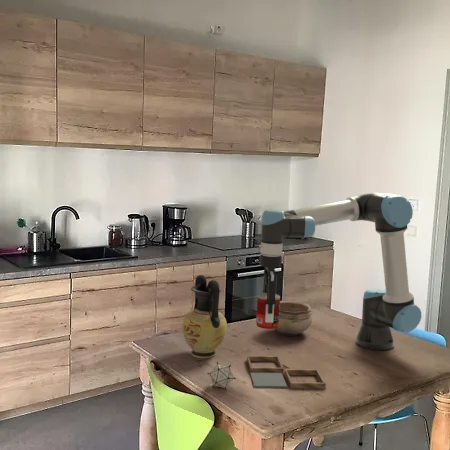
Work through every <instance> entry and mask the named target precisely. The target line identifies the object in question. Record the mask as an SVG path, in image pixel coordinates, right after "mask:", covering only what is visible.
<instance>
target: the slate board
mask: <svg viewBox="0 0 450 450" xmlns="http://www.w3.org/2000/svg"><path fill="white" fill-rule="evenodd" d="M250 378H251V381H252V384H253V388H255V389H256V388H257V389H258V388H263V389H264V388H266V389H267V388H270V389H271V388H272V389H274V388H276V389H277V388H278V389H279V388H280V389H282V388H283V389H284V388H285V389H286V388H288V385H287V383H286V380H285V378H284V374H283V373H250Z"/></svg>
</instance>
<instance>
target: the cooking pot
mask: <svg viewBox="0 0 450 450" xmlns="http://www.w3.org/2000/svg"><path fill="white" fill-rule="evenodd" d="M312 315H313V310H312V307H311V306H310V305H309V304H307V303H304V302H300V301H294V300H293V301H292V300H280V309H279V325H278V327H277V328H275V329H274V330H275V331H277V332H279V333H280V334H281V335H283V336H287V337H294V336H296V335H300V334H302V333H303V332H306V331H307V330H308V329H309V328H310V327H311V325H312V323H313V321H312V320H313V317H312Z"/></svg>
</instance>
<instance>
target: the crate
mask: <svg viewBox="0 0 450 450" xmlns="http://www.w3.org/2000/svg"><path fill="white" fill-rule="evenodd" d="M246 362H247V366H248V368H249V369H248V370H249V372H250V374H251V373H282V374H284V372H285V368H284V366H283V363H282V360H280V357H279V355H247V356H246ZM251 362H276V363H277V366H278V367H254V366H252V363H251Z"/></svg>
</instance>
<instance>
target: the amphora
mask: <svg viewBox="0 0 450 450" xmlns="http://www.w3.org/2000/svg"><path fill="white" fill-rule="evenodd" d="M194 281H195V284H194V286H191V288H190V289H191V290H190V291H192V292H194V295H195V296H194V306H193V309H191V310H190V311H188V312H187V313H186V314H185V315H184V317H183V320H182V335H183V338H184V340H185V342H186V344H187V345H188V347H190V349H191V353H190V354H191V356H193V357H194V358H197V359H209V358H213V357H215V355H216V350H217V349H218V348H219V347H220V346H221V345H222V343H223V342H224V340H225V337H226V335H227V330H228V323H227V319H226V317H225V316H224V314H222V313H221V312H220V311H219V304H220V293H221V292H222V288H221V287H220V284H219V282H218V281H217V280H215V279H211V280H209V281H208V283H207V278H206V277H205V275H203V274H199V275H197V276H196V278H195V280H194Z"/></svg>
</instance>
